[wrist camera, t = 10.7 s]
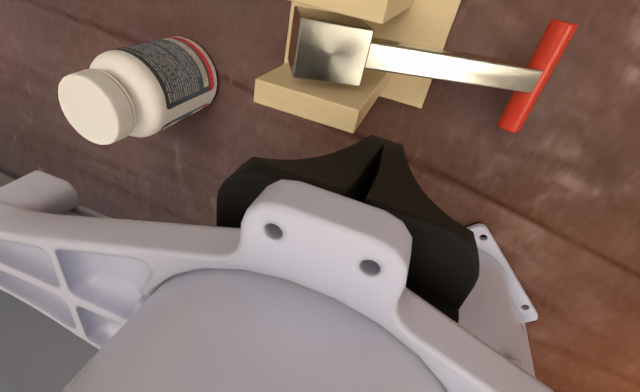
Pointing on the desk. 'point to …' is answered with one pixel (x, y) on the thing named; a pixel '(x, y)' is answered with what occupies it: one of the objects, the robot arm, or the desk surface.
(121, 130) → the pill bottle
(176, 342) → the robot arm
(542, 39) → the lever
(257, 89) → the bracket
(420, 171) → the desk surface
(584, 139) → the desk surface
